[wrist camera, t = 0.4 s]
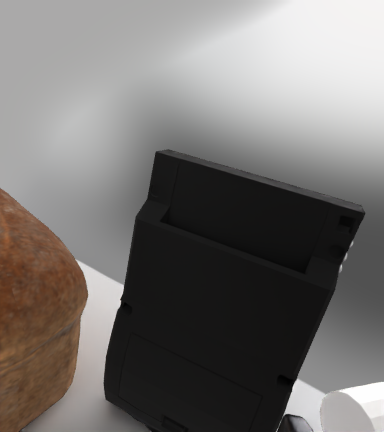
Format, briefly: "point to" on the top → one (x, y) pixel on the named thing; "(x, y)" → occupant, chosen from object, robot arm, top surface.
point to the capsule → (354, 409)
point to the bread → (35, 316)
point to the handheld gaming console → (222, 296)
